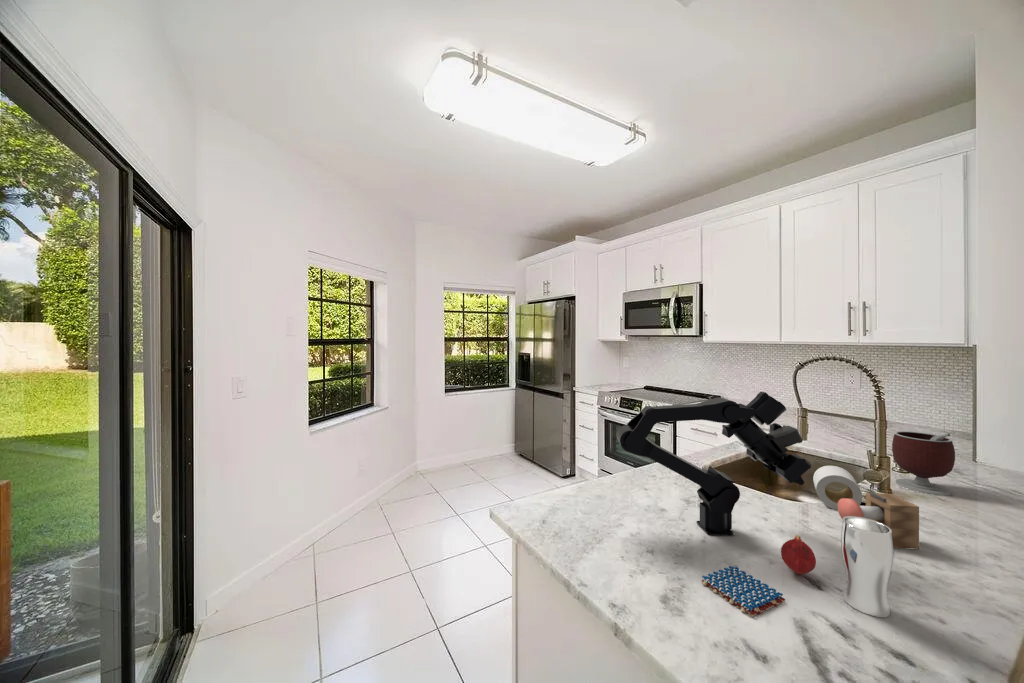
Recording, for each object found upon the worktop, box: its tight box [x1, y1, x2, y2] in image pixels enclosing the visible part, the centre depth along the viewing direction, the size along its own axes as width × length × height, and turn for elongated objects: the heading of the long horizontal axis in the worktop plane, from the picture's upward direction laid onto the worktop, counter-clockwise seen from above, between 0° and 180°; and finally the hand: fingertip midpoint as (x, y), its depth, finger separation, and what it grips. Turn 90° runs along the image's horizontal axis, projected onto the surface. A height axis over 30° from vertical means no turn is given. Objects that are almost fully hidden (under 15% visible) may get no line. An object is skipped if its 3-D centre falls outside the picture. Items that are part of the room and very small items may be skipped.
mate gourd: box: [891, 430, 956, 496], centre depth 121 cm, size 16×14×20 cm
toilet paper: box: [812, 465, 863, 511], centre depth 110 cm, size 10×10×10 cm
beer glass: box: [840, 516, 895, 618], centre depth 68 cm, size 7×7×15 cm
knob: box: [837, 498, 885, 521], centre depth 91 cm, size 8×6×6 cm
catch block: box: [865, 491, 920, 550], centre depth 90 cm, size 6×7×11 cm
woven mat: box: [701, 565, 786, 618], centre depth 72 cm, size 10×11×2 cm
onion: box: [780, 534, 817, 576], centre depth 77 cm, size 6×6×8 cm
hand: (800, 482), depth 93 cm, fingers closed
